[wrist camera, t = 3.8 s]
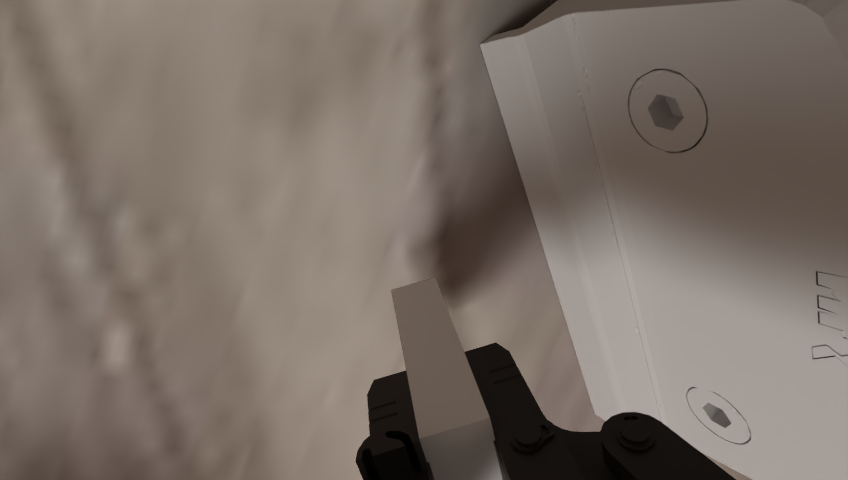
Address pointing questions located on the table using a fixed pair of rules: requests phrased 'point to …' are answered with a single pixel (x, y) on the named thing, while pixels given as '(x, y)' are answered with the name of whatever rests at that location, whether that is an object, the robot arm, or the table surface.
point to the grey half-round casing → (695, 213)
